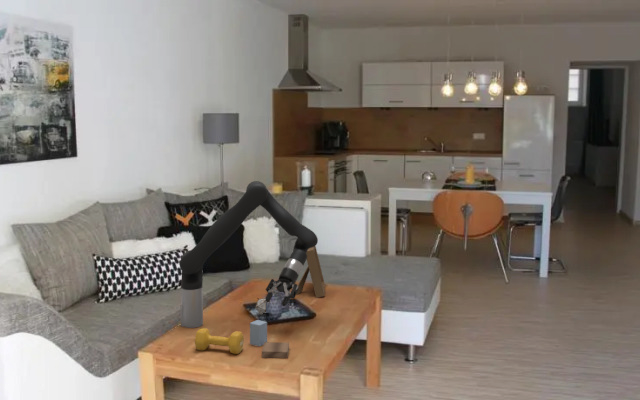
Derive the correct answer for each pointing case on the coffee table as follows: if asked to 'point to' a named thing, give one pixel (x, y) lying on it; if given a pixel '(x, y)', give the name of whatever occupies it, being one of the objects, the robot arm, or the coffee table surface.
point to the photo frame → (313, 273)
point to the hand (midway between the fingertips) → (274, 303)
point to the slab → (275, 350)
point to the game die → (261, 306)
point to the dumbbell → (219, 340)
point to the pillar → (258, 333)
